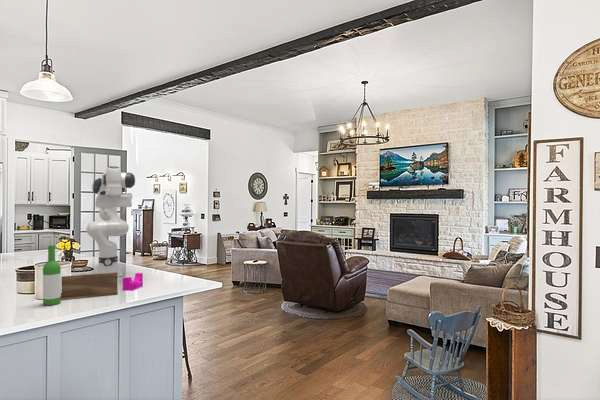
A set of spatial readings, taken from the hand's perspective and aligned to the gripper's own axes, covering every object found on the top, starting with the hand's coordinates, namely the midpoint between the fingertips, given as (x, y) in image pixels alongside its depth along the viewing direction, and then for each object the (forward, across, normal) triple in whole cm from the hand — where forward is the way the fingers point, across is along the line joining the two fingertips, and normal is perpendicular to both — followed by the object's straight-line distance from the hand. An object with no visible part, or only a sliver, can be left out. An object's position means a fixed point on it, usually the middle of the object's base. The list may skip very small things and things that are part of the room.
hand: (114, 214), depth 233 cm
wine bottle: (+44, +28, +30) cm, 60 cm away
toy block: (+44, -11, +9) cm, 47 cm away
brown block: (+44, +12, +17) cm, 49 cm away
